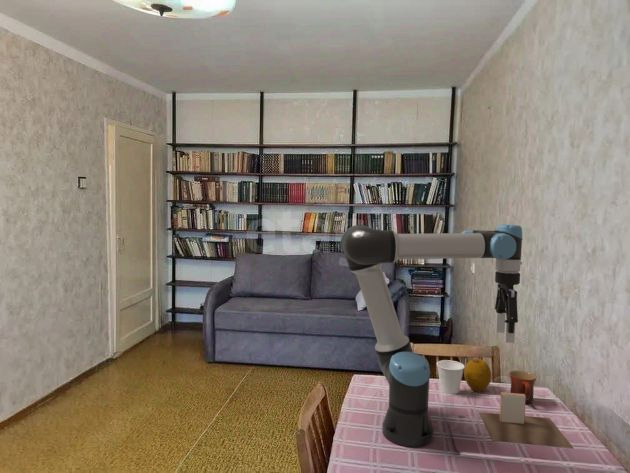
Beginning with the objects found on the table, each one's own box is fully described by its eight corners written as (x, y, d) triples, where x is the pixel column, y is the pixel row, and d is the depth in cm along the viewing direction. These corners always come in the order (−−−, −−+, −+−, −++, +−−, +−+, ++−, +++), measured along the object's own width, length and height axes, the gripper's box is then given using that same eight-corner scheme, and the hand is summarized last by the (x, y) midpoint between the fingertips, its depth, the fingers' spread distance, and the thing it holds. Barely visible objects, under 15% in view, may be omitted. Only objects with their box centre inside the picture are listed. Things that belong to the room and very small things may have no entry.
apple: (471, 382, 173) (472, 353, 172) (495, 390, 166) (496, 359, 165) (458, 388, 166) (459, 358, 166) (483, 397, 159) (484, 365, 158)
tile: (501, 422, 138) (502, 394, 138) (499, 419, 140) (500, 392, 139) (524, 424, 137) (525, 396, 137) (522, 421, 139) (524, 394, 138)
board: (492, 444, 127) (492, 440, 127) (478, 415, 145) (478, 412, 145) (573, 452, 124) (573, 448, 124) (549, 421, 142) (549, 418, 142)
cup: (431, 388, 166) (432, 360, 165) (456, 387, 167) (457, 359, 166) (441, 400, 156) (442, 370, 156) (468, 399, 157) (469, 369, 157)
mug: (505, 396, 160) (506, 369, 159) (531, 399, 158) (532, 371, 158) (513, 411, 148) (514, 382, 148) (541, 414, 147) (542, 384, 146)
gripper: (531, 277, 132) (527, 348, 134) (509, 267, 155) (506, 328, 157) (505, 276, 133) (502, 347, 135) (487, 266, 156) (484, 327, 158)
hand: (504, 337), depth 146 cm, fingers open, 11 cm apart
